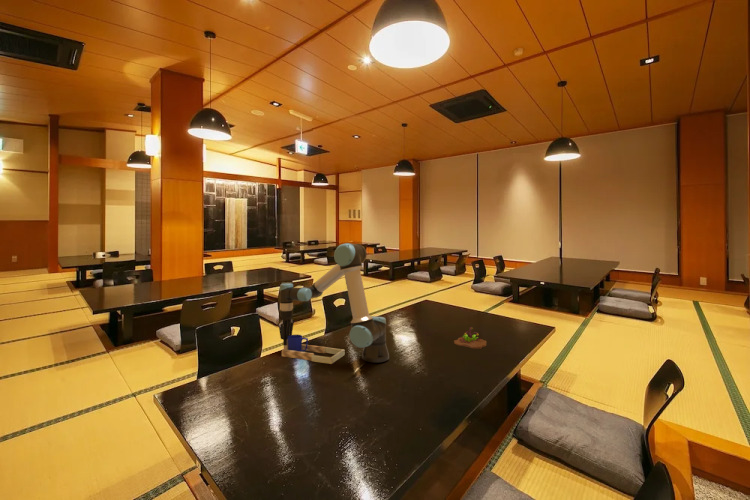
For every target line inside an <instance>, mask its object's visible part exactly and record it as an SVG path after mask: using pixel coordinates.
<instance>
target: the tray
mask: <svg viewBox="0 0 750 500" xmlns="http://www.w3.org/2000/svg"><path fill="white" fill-rule="evenodd" d="M345 351H346V350H345V349H343V348H334V347H326V346H325V353H324V354H326V353H327V354H332V356H323V355H316V354H314V355H312V360H311V362H316V363H323V364H330V365H332V364H334V363H335V362H336V361H338V360H340V359H341V358H342V357H343V356H345V353H346V352H345Z"/></svg>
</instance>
